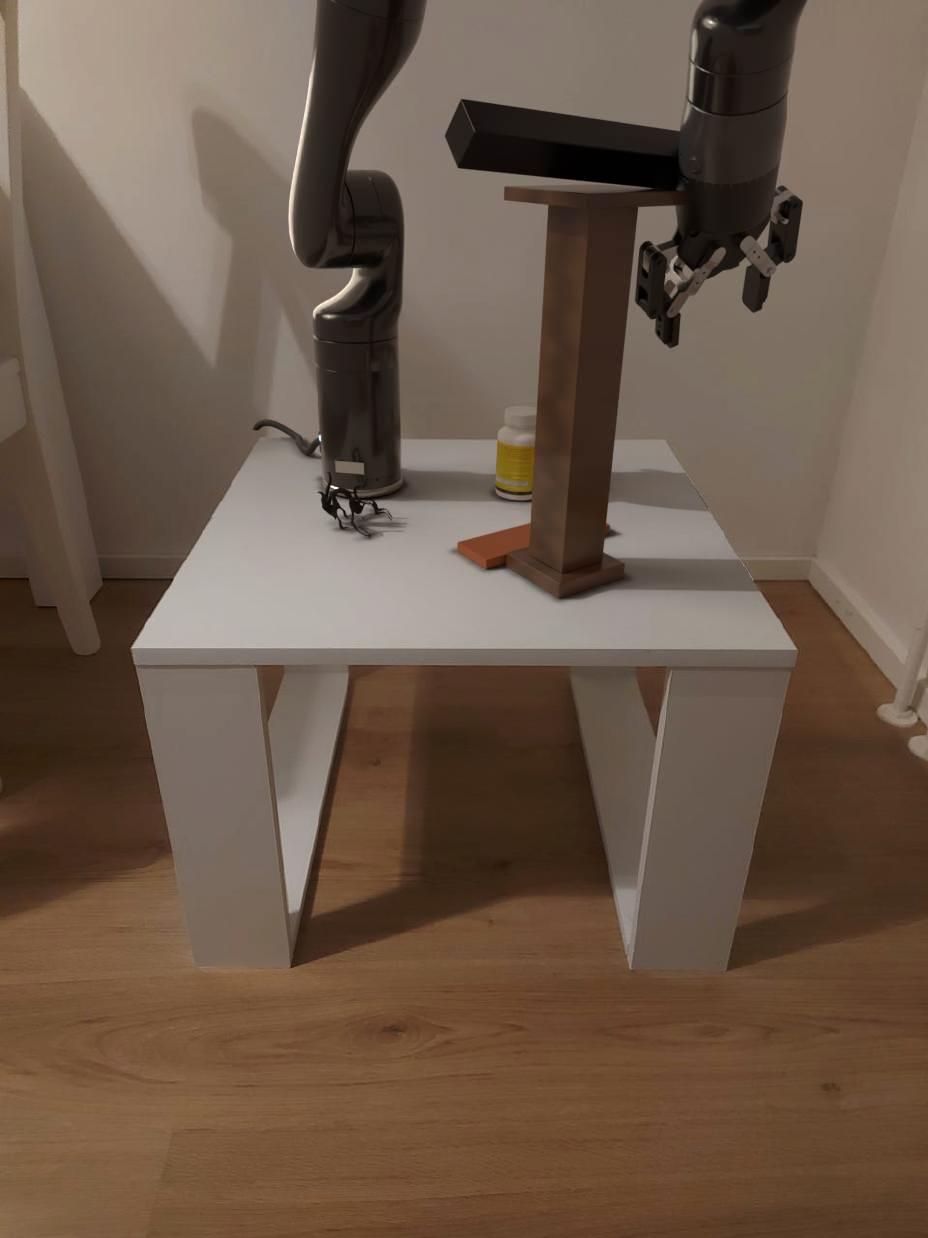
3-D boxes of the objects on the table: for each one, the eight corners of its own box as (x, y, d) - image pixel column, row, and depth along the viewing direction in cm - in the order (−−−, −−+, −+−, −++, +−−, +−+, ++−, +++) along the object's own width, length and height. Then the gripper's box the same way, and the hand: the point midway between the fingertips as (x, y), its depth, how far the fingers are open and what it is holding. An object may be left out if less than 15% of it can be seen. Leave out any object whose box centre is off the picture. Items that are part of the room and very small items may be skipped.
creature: (393, 519, 97) (322, 503, 96) (402, 475, 94) (330, 457, 93) (385, 548, 90) (309, 531, 89) (395, 501, 87) (317, 483, 87)
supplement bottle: (538, 503, 99) (543, 418, 94) (491, 499, 99) (494, 415, 95) (544, 487, 103) (549, 405, 98) (499, 483, 104) (502, 402, 99)
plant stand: (491, 565, 84) (503, 185, 68) (570, 542, 89) (599, 184, 73) (557, 606, 77) (588, 193, 61) (638, 579, 82) (687, 190, 66)
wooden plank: (457, 550, 87) (457, 541, 87) (578, 518, 95) (578, 509, 95) (486, 569, 83) (486, 560, 83) (609, 533, 91) (610, 524, 91)
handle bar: (443, 135, 61) (460, 97, 58) (693, 166, 72) (716, 135, 70) (457, 168, 60) (475, 131, 57) (708, 194, 72) (732, 164, 69)
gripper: (783, 96, 68) (755, 273, 82) (621, 160, 67) (620, 330, 80) (842, 139, 64) (802, 318, 78) (671, 209, 63) (661, 378, 76)
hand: (709, 324), depth 79 cm, fingers open, 8 cm apart
